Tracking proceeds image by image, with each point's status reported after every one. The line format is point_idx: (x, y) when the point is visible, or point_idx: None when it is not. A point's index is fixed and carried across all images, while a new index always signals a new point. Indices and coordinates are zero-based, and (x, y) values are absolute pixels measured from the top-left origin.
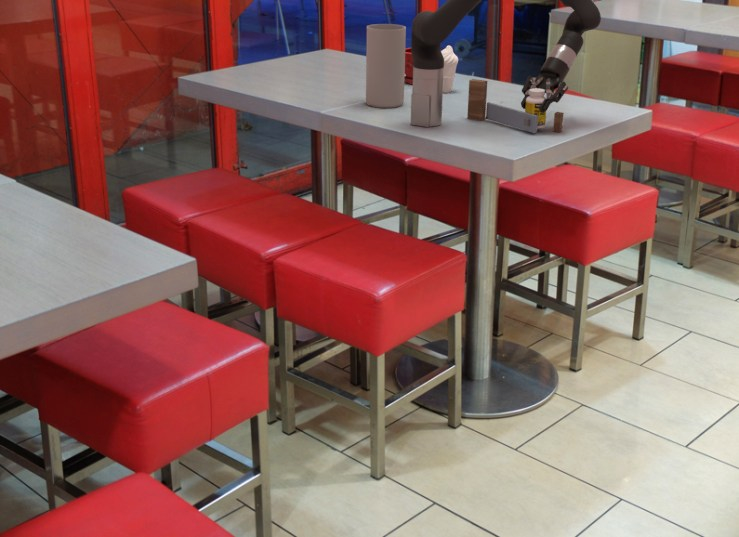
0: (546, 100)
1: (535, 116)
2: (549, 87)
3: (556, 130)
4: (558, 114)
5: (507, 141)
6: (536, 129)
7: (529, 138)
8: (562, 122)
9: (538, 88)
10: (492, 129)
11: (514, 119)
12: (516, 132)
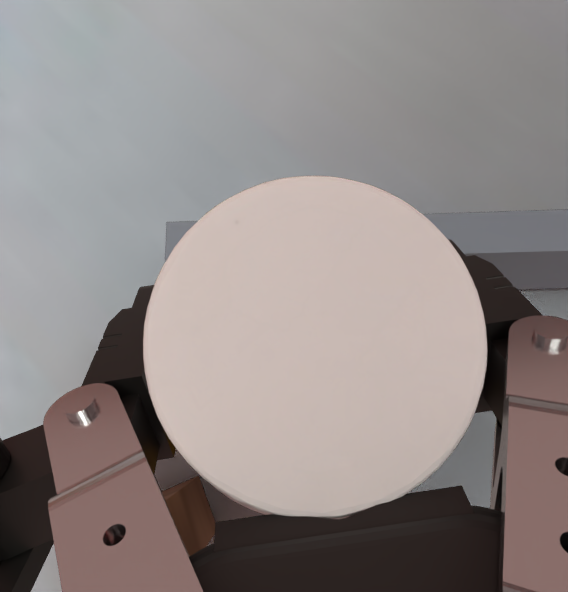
0: (112, 377)
1: (166, 227)
2: (70, 554)
3: (170, 489)
4: None
5: (190, 28)
6: None
7: (161, 187)
8: None
9: (408, 473)
10: (487, 134)
11: None
12: None
